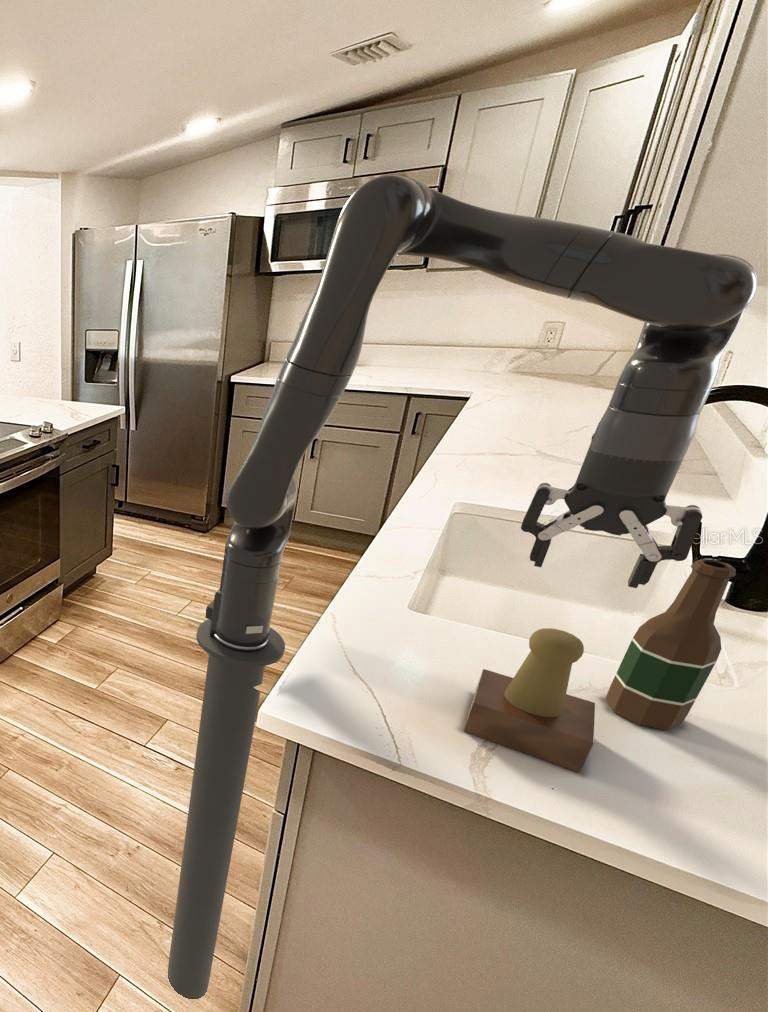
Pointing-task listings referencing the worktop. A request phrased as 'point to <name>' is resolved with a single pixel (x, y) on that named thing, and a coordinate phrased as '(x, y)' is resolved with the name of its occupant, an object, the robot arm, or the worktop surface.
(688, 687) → the beer bottle
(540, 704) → the cork
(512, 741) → the walnut block
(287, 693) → the worktop surface
